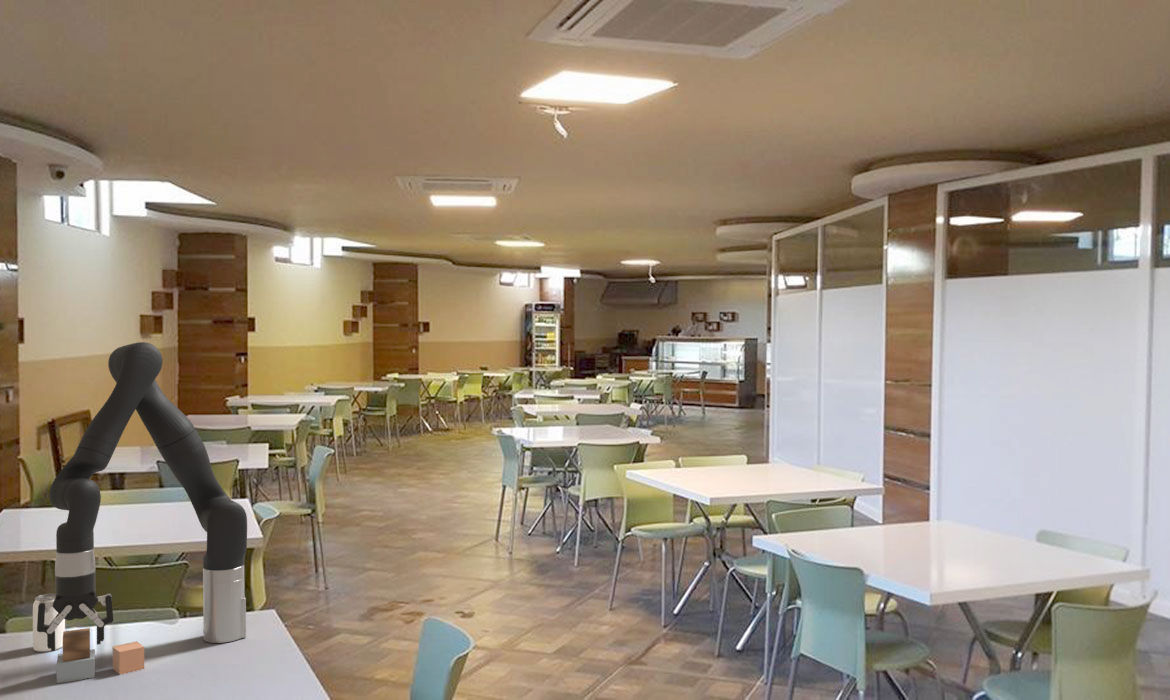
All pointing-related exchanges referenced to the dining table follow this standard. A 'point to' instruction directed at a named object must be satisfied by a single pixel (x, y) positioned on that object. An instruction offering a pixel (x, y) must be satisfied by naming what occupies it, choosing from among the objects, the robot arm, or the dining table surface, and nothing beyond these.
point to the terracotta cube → (128, 657)
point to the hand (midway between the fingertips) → (76, 646)
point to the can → (41, 637)
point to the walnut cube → (76, 644)
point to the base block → (75, 668)
